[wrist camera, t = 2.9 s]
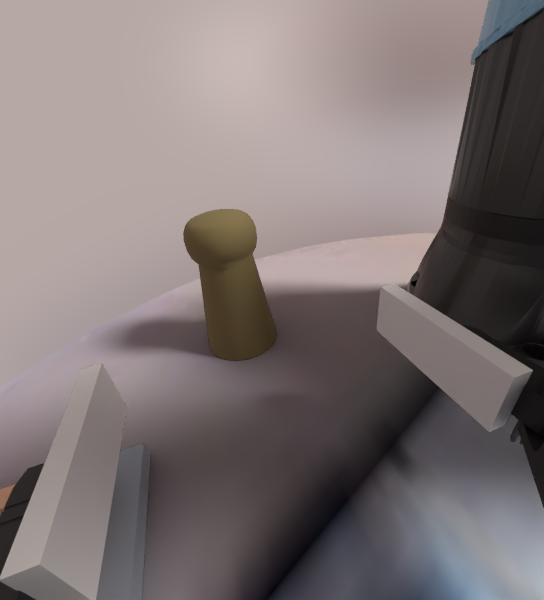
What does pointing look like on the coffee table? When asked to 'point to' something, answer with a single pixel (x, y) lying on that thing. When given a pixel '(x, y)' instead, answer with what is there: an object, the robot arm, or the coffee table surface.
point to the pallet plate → (122, 527)
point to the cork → (230, 283)
